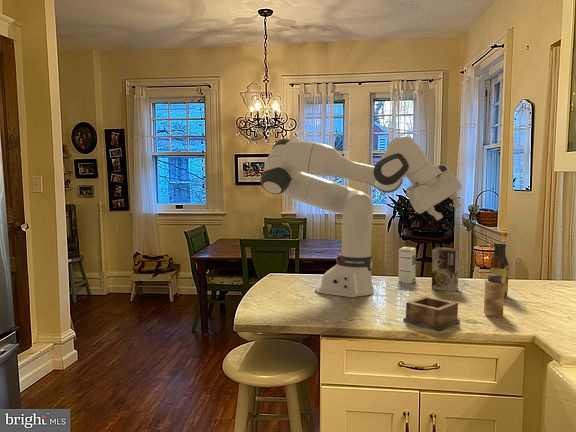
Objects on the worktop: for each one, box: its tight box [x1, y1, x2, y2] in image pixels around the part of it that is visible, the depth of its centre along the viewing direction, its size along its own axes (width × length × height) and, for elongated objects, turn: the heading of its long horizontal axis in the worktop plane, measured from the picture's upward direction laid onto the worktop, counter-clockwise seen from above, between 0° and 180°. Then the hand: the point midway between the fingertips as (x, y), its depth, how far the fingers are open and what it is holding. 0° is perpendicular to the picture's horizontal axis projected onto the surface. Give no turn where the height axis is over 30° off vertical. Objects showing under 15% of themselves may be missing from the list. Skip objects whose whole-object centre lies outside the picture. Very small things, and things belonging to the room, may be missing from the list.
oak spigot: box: [483, 273, 505, 319], centre depth 143 cm, size 5×5×13 cm
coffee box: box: [431, 247, 460, 292], centre depth 176 cm, size 9×6×16 cm
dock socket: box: [403, 295, 461, 332], centre depth 136 cm, size 12×12×6 cm
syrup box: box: [398, 246, 417, 284], centre depth 189 cm, size 6×6×14 cm
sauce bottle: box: [489, 242, 510, 297], centre depth 167 cm, size 7×6×20 cm
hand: (449, 213), depth 143 cm, fingers open, 8 cm apart
